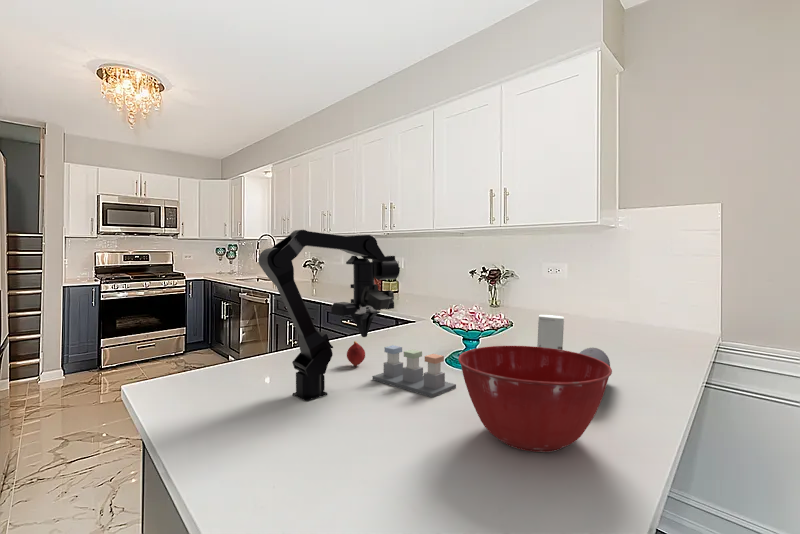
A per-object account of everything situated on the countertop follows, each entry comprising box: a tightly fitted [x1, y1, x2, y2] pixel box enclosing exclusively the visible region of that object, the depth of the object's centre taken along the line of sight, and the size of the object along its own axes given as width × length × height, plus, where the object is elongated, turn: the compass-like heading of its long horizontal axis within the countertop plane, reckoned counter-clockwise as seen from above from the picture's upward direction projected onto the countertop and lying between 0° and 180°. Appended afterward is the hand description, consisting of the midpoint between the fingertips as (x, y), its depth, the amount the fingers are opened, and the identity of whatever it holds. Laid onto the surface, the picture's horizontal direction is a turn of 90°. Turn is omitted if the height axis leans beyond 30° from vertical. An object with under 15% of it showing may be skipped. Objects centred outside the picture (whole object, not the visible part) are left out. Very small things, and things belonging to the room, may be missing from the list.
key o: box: [384, 344, 403, 365], centre depth 122 cm, size 4×4×5 cm
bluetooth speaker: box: [578, 347, 611, 367], centre depth 110 cm, size 23×9×10 cm, turn 149°
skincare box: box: [536, 314, 565, 350], centre depth 142 cm, size 8×6×15 cm
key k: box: [424, 353, 445, 375], centre depth 112 cm, size 4×4×5 cm
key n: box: [403, 349, 423, 370], centre depth 117 cm, size 4×4×5 cm
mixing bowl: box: [457, 345, 613, 453], centre depth 84 cm, size 28×28×16 cm
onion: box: [346, 340, 366, 367], centre depth 135 cm, size 6×6×8 cm
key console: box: [372, 361, 457, 399], centre depth 117 cm, size 10×22×4 cm, turn 47°
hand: (364, 337), depth 117 cm, fingers closed
